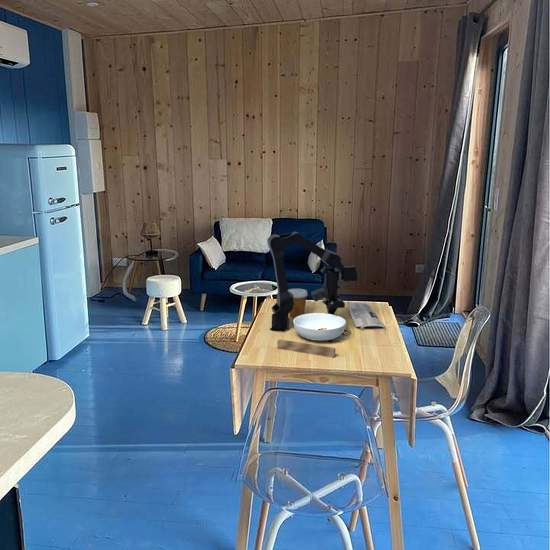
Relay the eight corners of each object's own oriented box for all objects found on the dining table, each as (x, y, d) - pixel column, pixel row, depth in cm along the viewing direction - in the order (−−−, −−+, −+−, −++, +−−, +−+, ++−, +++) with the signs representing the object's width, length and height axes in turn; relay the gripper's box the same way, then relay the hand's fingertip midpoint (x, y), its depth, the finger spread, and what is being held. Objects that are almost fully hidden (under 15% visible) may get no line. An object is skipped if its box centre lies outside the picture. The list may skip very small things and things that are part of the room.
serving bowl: (285, 331, 215) (285, 315, 213) (330, 326, 222) (331, 310, 220) (305, 349, 196) (306, 331, 194) (355, 342, 203) (355, 325, 201)
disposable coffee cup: (310, 315, 236) (311, 290, 233) (300, 321, 228) (301, 294, 225) (292, 312, 241) (293, 287, 238) (282, 317, 233) (282, 291, 230)
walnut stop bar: (277, 348, 196) (277, 340, 195) (279, 346, 197) (279, 339, 197) (333, 357, 187) (333, 349, 186) (335, 355, 189) (335, 348, 188)
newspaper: (385, 331, 217) (386, 323, 217) (356, 331, 217) (356, 323, 216) (368, 307, 252) (368, 300, 251) (342, 307, 251) (343, 300, 251)
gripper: (307, 278, 225) (306, 312, 228) (319, 288, 207) (317, 326, 210) (332, 277, 227) (331, 311, 230) (345, 287, 209) (344, 325, 212)
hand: (330, 318), depth 221 cm, fingers closed
